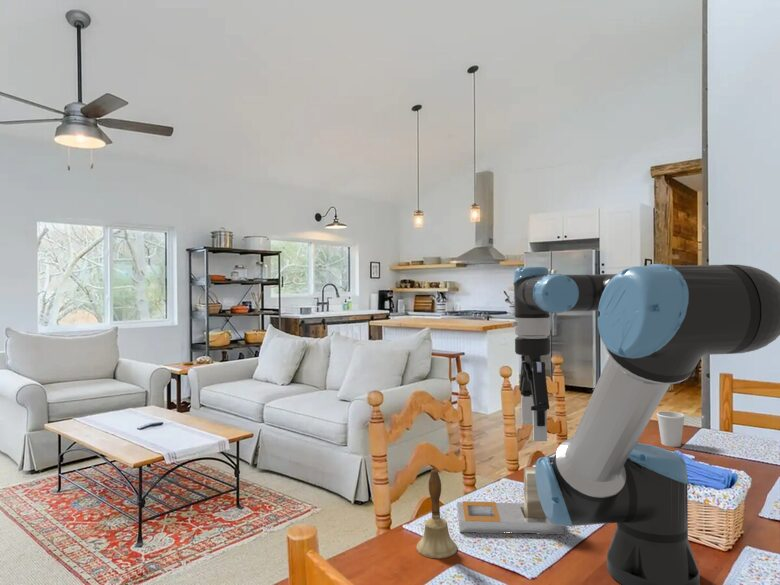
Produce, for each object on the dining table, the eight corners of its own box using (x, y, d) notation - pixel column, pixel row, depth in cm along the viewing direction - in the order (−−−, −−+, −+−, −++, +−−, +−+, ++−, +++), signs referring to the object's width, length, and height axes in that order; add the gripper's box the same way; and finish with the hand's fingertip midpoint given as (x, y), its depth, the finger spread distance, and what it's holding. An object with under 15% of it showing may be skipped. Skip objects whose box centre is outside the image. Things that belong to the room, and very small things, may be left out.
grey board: (563, 534, 111) (563, 522, 111) (459, 532, 113) (459, 520, 113) (552, 514, 121) (552, 502, 121) (457, 512, 123) (457, 501, 123)
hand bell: (424, 561, 101) (423, 479, 101) (411, 541, 109) (410, 465, 109) (463, 555, 104) (462, 475, 103) (448, 536, 112) (447, 461, 111)
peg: (546, 528, 115) (545, 473, 114) (527, 527, 115) (527, 473, 115) (542, 520, 119) (541, 467, 118) (524, 519, 119) (523, 467, 119)
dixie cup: (651, 442, 175) (650, 412, 175) (668, 439, 179) (667, 410, 179) (673, 449, 168) (673, 418, 168) (691, 445, 171) (691, 415, 171)
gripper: (506, 332, 129) (507, 417, 129) (525, 342, 104) (526, 448, 104) (537, 331, 129) (538, 418, 129) (564, 342, 104) (565, 449, 104)
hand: (533, 432), depth 117 cm, fingers open, 13 cm apart
